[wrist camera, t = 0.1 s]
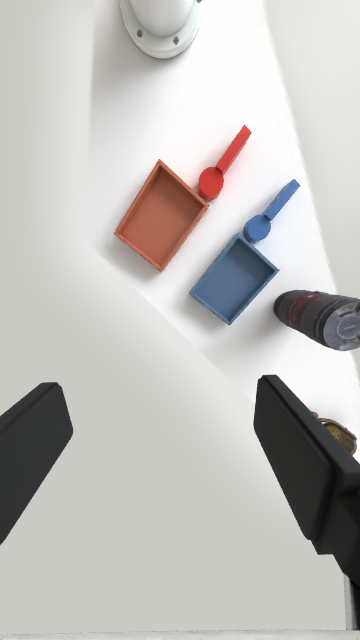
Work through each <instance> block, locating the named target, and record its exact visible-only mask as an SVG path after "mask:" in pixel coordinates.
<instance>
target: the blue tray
mask: <svg viewBox="0 0 360 640" xmlns="http://www.w3.org/2000/svg"><path fill="white" fill-rule="evenodd" d="M278 271H279V270H278V269H277V268H276V267H275V266H274V265H273V264H272V263H271V262H270V261H269V260H268V259H266V258H265V257H264V256H263V255H262V254H261V253H260V252H259V251H258V250H257V249H256V248H255V247H254V246H252V245H251V244H250V243H249V242H248V241H247V240H246V239H245V238H244V237H243V236H242V235H241V234H240V233H237V234H236V235H234V236H233V238H232V239H231V240H230V242H229V243H228V244H227V245H226V247H225V248H224V249H223V250H222V252H221V253H220V254H219V255H218V257H217V258H216V259H215V261H214V262H213V263H212V264H211V266H210V267H209V268H208V269H207V271H206V272H205V273H204V274H203V276H202V277H201V278H200V280H199V281H198V282H197V283H196V285H195V286H194V287H193V288H192V290H191V291H190V292H189V293H190V295H192V296H193V297H194V298H195V299H197V300H198V301H199V302H200V303H202V304H203V305H204V306H206V307H207V308H208V309H209V310H211V311H212V312H213V313H214V314H216V315H217V316H218V317H219V318H221V319H222V320H223V321H224V322H226V323H227V324H228V325H231V323H232V322H233V321H234V320H235V319H236V318H237V317H238V316H239V315H240V313H241V312H242V311H243V310H244V309H245V308H246V307H247V306H248V305H249V303H250V302H251V301H252V300H253V299H254V298H255V297H256V296H257V295H258V294H259V292H260V291H261V290H262V289H263V288H264V287H265V286H266V285H267V284H268V282H269V281H270V280H271V279H272V278H273V277H274V276H275V275H276V274H277V272H278Z"/></svg>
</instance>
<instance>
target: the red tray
mask: <svg viewBox="0 0 360 640" xmlns="http://www.w3.org/2000/svg"><path fill="white" fill-rule="evenodd" d="M208 207H209V205H208V204H207V203H206V202H205V201H204V200H203V199H202V198H201V197H200V196H199V195H198V194H197V193H195V192H194V191H193V190H192V189H191V188H190V187H189V186H188V185H187V184H186V183H185V182H184V181H183V180H181V179H180V178H179V177H178V176H177V175H176V174H175V173H174V172H173V171H172V170H171V169H170V168H169V167H168V166H166V165H165V164H164V163H163V162H162V161H161V160H160V159H159V160H158V162H157V163H156V165H155V167H154V168H153V170H152V172H151V173H150V175H149V177H148V178H147V180H146V181H145V183H144V185H143V186H142V188H141V190H140V191H139V193H138V195H137V196H136V198H135V199H134V201H133V203H132V204H131V206H130V208H129V209H128V211H127V213H126V214H125V216H124V218H123V219H122V221H121V222H120V224H119V226H118V227H117V229H116V231H115V232H114V235H116V236H117V237H118V238H119V239H121V240H122V241H123V242H125V243H126V244H127V245H128V246H130V247H131V248H132V249H133V250H135V251H136V252H137V253H138V254H140V255H141V256H142V257H144V258H145V259H146V260H147V261H149V262H150V263H151V264H152V265H154V266H155V267H156V268H157V269H159V270H160V271H163V270H164V269H165V267H166V266H167V265H168V263H169V262H170V261H171V259H172V258H173V256H174V255H175V254H176V252H177V251H178V249H179V248H180V247H181V245H182V244H183V243H184V241H185V240H186V238H187V237H188V236H189V234H190V233H191V231H192V230H193V229H194V227H195V226H196V225H197V223H198V222H199V220H200V219H201V218H202V216H203V215H204V213H205V212H206V211H207V209H208Z"/></svg>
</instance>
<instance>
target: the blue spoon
mask: <svg viewBox="0 0 360 640" xmlns="http://www.w3.org/2000/svg"><path fill="white" fill-rule="evenodd" d="M299 186H300V184H299V183H298V182H297V181H296V180H295V179H293V180H292V181H291V182H290V183H288V184H287V185H286V186H285V187H284V188H283V190H282V191H281V192H280V193H279V195H278V196H277V197H276V198H275V200H274V201H273V202H272V203H271V204H270V206H269V207H268V208H267V209H266V211H265V212H264V213H263V214H262V215H257V216H255V217H253V218H252V219H250V220H249V221H248V222H247V223H246V225H245V227H244V235H245V238H246V239H247V240H248V241H250V242H257V241H260V240H262V239H264V238H265V237H266V236H267V235H268V234H269V232H270V228H271V224H270V221H271V220H272V219H273V218H274V217H275V215H276V214H277V213H278V212H279V211H280V209H281V208H282V207H283V206H284V205H285V203H286V202H287V201H288V200H289V199H290V197H291V196H292V195H293V194H294V192H295V191H296V190H297V189H298V188H299Z"/></svg>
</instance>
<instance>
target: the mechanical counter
mask: <svg viewBox="0 0 360 640" xmlns="http://www.w3.org/2000/svg"><path fill="white" fill-rule="evenodd" d="M312 413H313V415H314V416H315V417H316V418H318V414H317V413H314V412H312ZM318 420H319V421H320V422H329V423H325V424H324V426H325V427H326V428H327V430H328V431H329V432H330V433H331V434H332V435H333V436H334V437H335V438H336V439H337V440H338V441H339V442H340V443H341V445H342V446H343V447H344V448H345V449H346V450H347V451H348V452H349V453H350V454H351V455H353V454H354V453H355V452H356V448H357V444H356V440H357V438H356V436H355V435H354V434H352V433H351V432H350V431H348V429H347V428H344V427H343V426H342V425H340V424H339V423H337V422H336V421H333V420H330V419H325V418H318Z"/></svg>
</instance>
